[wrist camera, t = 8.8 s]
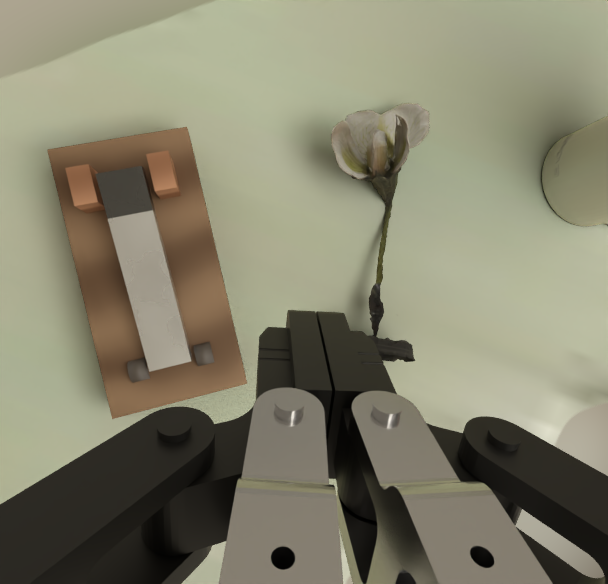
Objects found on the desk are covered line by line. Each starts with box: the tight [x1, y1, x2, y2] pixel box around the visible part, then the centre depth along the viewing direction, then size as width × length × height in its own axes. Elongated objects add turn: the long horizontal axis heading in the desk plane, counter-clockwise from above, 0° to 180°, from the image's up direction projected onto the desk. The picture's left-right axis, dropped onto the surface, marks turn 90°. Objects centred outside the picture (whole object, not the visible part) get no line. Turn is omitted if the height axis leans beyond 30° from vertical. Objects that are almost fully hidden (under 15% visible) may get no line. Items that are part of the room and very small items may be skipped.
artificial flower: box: [331, 103, 430, 362], centre depth 37 cm, size 9×22×10 cm, turn 172°
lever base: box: [48, 127, 247, 419], centre depth 33 cm, size 20×10×7 cm, turn 13°
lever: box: [95, 166, 192, 372], centre depth 31 cm, size 14×3×1 cm, turn 13°
